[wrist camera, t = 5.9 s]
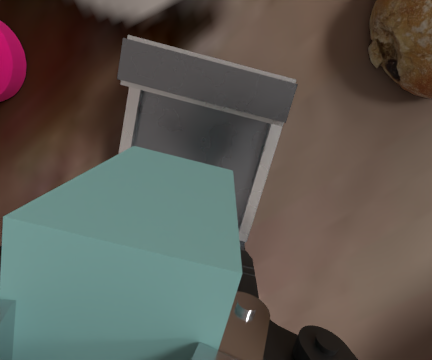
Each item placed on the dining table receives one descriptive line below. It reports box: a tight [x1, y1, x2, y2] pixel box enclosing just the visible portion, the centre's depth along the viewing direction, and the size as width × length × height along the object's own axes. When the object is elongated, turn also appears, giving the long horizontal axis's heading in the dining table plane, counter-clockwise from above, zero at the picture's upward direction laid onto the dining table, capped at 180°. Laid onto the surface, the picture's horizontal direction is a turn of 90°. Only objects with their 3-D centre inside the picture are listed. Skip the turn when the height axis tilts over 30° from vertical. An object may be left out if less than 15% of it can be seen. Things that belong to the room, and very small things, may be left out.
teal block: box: [0, 146, 242, 360], centre depth 9 cm, size 6×4×7 cm, turn 166°
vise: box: [119, 87, 284, 251], centre depth 21 cm, size 15×11×6 cm
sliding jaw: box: [117, 35, 298, 126], centre depth 18 cm, size 2×9×6 cm, turn 76°
